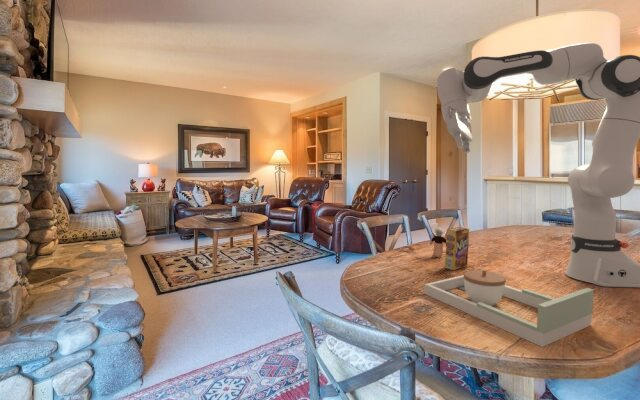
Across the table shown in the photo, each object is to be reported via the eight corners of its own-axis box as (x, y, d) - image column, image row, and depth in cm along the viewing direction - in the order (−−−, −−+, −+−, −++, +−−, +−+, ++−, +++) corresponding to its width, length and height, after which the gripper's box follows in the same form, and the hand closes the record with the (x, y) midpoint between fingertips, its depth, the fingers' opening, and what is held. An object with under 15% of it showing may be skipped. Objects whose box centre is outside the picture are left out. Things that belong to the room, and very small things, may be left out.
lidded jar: (498, 313, 88) (500, 279, 87) (457, 302, 95) (458, 271, 94) (508, 300, 96) (510, 269, 95) (469, 291, 103) (470, 262, 102)
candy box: (454, 271, 123) (455, 230, 122) (444, 268, 127) (445, 228, 125) (468, 266, 128) (469, 227, 127) (458, 264, 132) (459, 226, 130)
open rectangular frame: (476, 306, 86) (477, 283, 85) (524, 291, 95) (525, 271, 94) (543, 334, 71) (544, 307, 71) (592, 313, 81) (594, 289, 80)
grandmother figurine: (428, 257, 142) (429, 228, 140) (429, 255, 145) (430, 226, 144) (448, 259, 139) (449, 229, 137) (448, 256, 142) (449, 227, 141)
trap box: (424, 293, 102) (424, 284, 102) (469, 282, 111) (469, 273, 111) (542, 346, 72) (542, 333, 71) (590, 325, 81) (591, 313, 81)
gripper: (457, 101, 109) (466, 140, 106) (471, 117, 125) (479, 152, 122) (437, 108, 112) (446, 146, 110) (454, 123, 129) (462, 157, 126)
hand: (464, 149), depth 116 cm, fingers open, 8 cm apart
